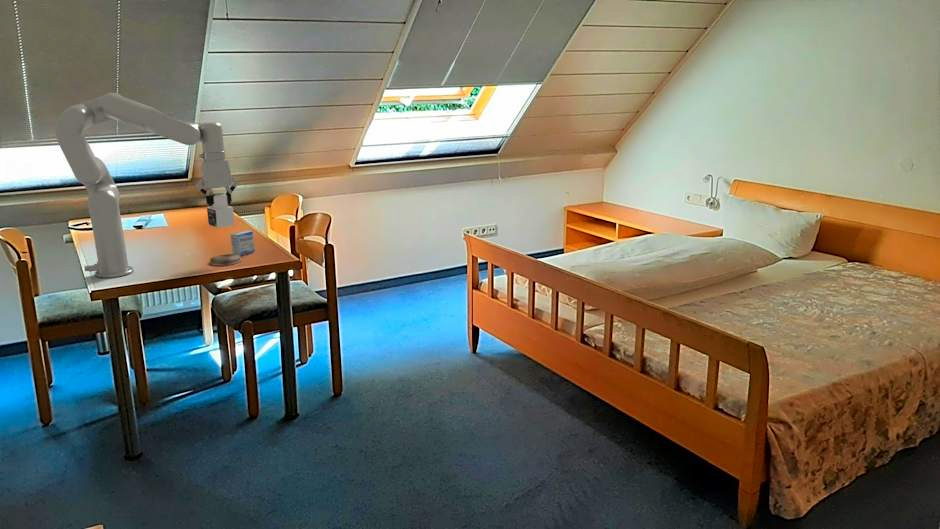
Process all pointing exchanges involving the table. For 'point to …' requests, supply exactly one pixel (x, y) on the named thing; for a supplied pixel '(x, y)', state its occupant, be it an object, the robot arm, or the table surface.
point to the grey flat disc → (225, 259)
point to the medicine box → (242, 242)
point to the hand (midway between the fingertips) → (219, 204)
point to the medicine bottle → (220, 212)
